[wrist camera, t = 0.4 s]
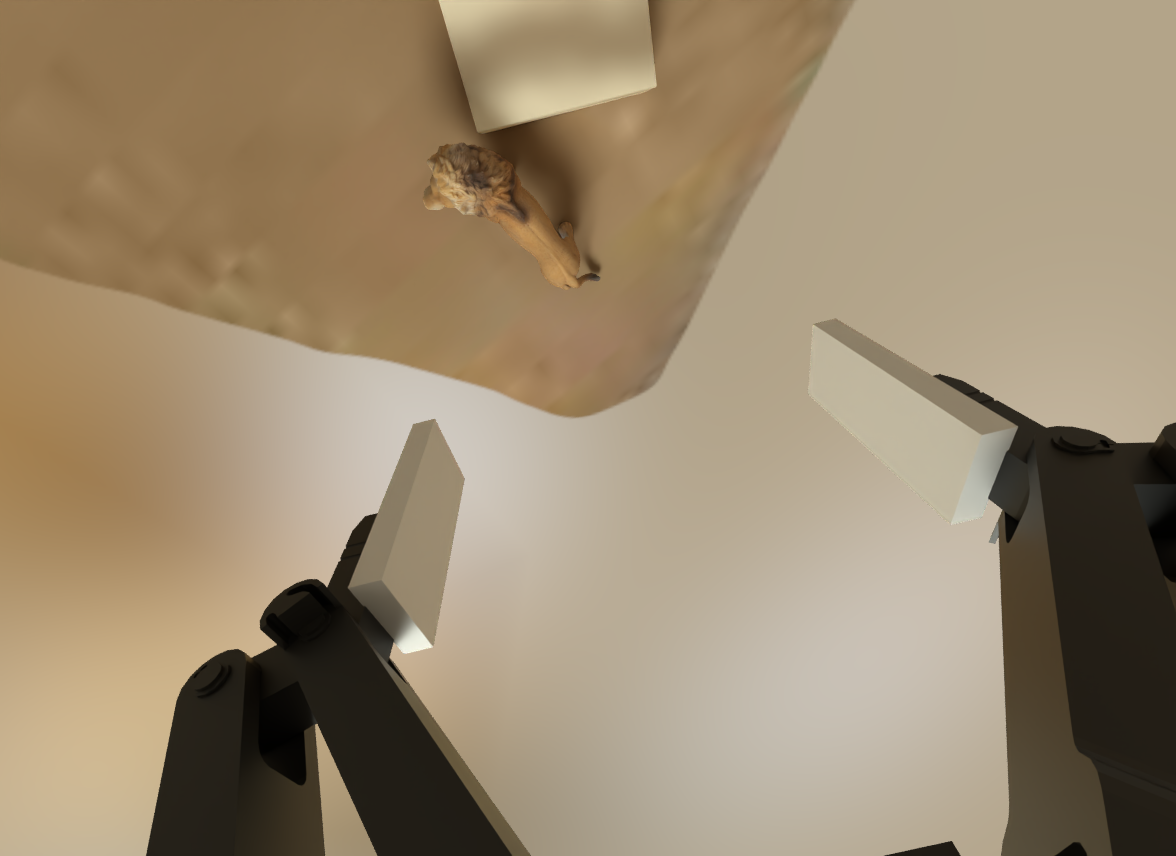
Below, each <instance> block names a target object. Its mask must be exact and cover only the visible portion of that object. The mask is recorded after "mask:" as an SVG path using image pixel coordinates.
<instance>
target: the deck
mask: <svg viewBox="0 0 1176 856" xmlns="http://www.w3.org/2000/svg"><path fill="white" fill-rule="evenodd" d="M439 3H440V6H441V10H442V13H443V16H444V20H445V23H446V27H447V30H448V33H449V37H450V40H451V44H452V47H453V51H454V54H455V57H456V61H457V64H458V68H459V71H460V74H461V78H462V81H463V85H464V88H465V92H466V95H467V98H468V102H469V105H470V109H471V112H472V115H473V119H474V122H475V126H476V129H477V133H481V134H485V133H488V132H492V131H496V130H500V129H504V128H508V127H512V126H516V125H520V124H523V123H527V122H531V121H535V120H539V119H543V118H547V117H551V116H555V115H558V114H562V113H566V112H570V111H574V110H578V109H582V108H586V107H589V106H593V105H597V104H601V103H605V102H609V101H613V100H617V99H621V98H624V97H628V96H632V95H636V94H640V93H644V92H646V91H648V90H650V89H652V88H654V87H657V86H656V76H655V66H654V56H653V46H652V36H651V26H650V17H649V7H648V0H439Z"/></svg>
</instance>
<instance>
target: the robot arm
mask: <svg viewBox="0 0 1176 856" xmlns="http://www.w3.org/2000/svg"><path fill="white" fill-rule="evenodd" d="M808 395H809V396H811V397H812V398H813V399H814V400H815V401H816V402H817V403H818V404H819V405H820V406H821V407H823V408H824V409H825V410H826V411H827V412H828V413H829V414H830V415H831V416H832V417H833V418H835V419H836V420H837V421H838V422H839V423H840V424H841V425H842V426H843V427H844V428H845V429H846V430H848V431H849V432H850V433H851V434H852V435H853V436H854V437H855V438H856V439H857V440H858V441H860V442H861V443H862V444H863V445H864V446H865V447H866V448H867V449H868V450H869V451H870V452H871V453H873V454H874V455H875V456H876V457H877V458H878V459H879V460H880V461H881V462H882V463H883V464H885V465H886V466H887V467H888V468H889V469H890V470H891V471H892V472H893V473H894V474H895V475H897V476H898V477H899V478H900V479H901V480H902V481H903V482H904V483H905V484H906V485H907V486H908V487H909V488H911V489H912V490H913V491H914V492H915V493H916V494H917V495H918V496H919V497H920V498H921V499H923V500H924V501H925V502H926V503H927V504H928V505H929V506H930V507H931V508H932V509H934V510H935V511H936V512H937V513H938V514H939V515H940V516H941V517H942V518H943V519H944V520H946V522H948V523H949V524H950V525H952V524H957V523H961V522H966V521H970V520H974V519H978V518H982V515H983V513H984V510H985V508H986V505H987V503H988V500H989V499H990V500H991V501H992V502H994V503H995V504H996V505H997V506H999V507H1000V508H1001V509H1002V512H1001V515H1000V517H999V520H998V522H997V524H996V527H995V529H994V531H993V533H992V536H991V538H990V541H989V542H990V543H994V544H995V543H996V540H997V538H998V537H999V554H1000V579H1001V605H1002V630H1003V656H1004V681H1005V705H1006V706H1005V707H1006V731H1007V758H1008V783H1009V818H1008V824H1007V828H1006V832H1005V836H1004V839H1003V845H1002V853H1001V856H1176V423H1173V424H1170V425H1167V426H1165V427H1164V429H1163V430H1162V432H1161V434H1160V435H1159V437H1158V438H1157V440H1156V441H1155V442H1154V443H1116V442H1114V441H1113V440H1111V439H1109V438H1108V437H1106V436H1104V435H1101V434H1098V433H1095V432H1093V431H1090V430H1086V429H1080V428H1076V427H1064V426H1063V427H1062V426H1055V427H1049V428H1046V427H1044V426H1042V425H1040V424H1038V423H1037V422H1035V421H1033V420H1031V419H1029V418H1028V417H1026V416H1024V415H1022V414H1021V413H1019V412H1017V411H1015V410H1013V409H1012V408H1010V407H1008V406H1006V405H1004V404H1003V403H1001V402H999V401H994V398H992V397H990V396H989V395H987V394H985V393H980V391H979V390H978V389H976V388H974V387H973V386H971V385H969V384H967V383H965V382H964V381H961V380H958V379H954V378H951V377H948V376H944V375H941V374H939V375H935V376H932V375H930V374H929V373H927V372H925V371H923V370H922V369H920V368H918V367H917V366H915V365H913V364H912V363H910V362H908V361H907V360H905V359H903V358H901V357H900V356H898V355H896V354H895V353H893V352H891V351H890V350H888V349H886V348H885V347H883V346H881V345H880V344H878V343H876V342H874V341H873V340H871V339H869V338H867V337H866V336H864V335H862V334H861V333H859V332H857V331H856V330H854V329H852V328H851V327H849V326H847V325H846V324H844V323H842V322H841V321H839V320H837V319H832V320H828V321H824V322H820V323H816V324H813V331H812V345H811V360H810V373H809V387H808ZM463 485H464V477H463V474H462V472H461V470H460V468H459V467H458V465H457V462H456V460H455V458H454V456H453V454H452V453H451V450H450V448H449V446H448V445H447V443H446V440H445V438H444V436H443V434H442V432H441V430H440V428H439V426H438V424H437V422H436V420H435V419H432V420H428V421H424V422H421V423H416V424H413V426H412V429H411V432H410V434H409V436H408V439H407V441H406V444H405V446H404V449H403V451H402V454H401V456H400V459H399V462H398V464H397V466H396V469H395V472H394V474H393V477H392V479H391V482H390V484H389V486H388V489H387V491H386V494H385V497H384V499H383V501H382V504H381V506H380V509H379V512H378V513H377V514H373V515H369V516H365V517H364V518H363V519H362V521H361V522H360V523H359V524H358V525H357V526H356V528H355V529H354V530H353V531H352V533H351V536H350V538H349V540H348V542H347V544H346V549H344V551H343V553H342V556H341V561H340V562H338V565H337V567H336V569H335V571H334V574H333V576H332V578H331V580H330V583H329V585H328V587H326V586H325V585H324V584H323V583H322V582H320V581H319V580H317V579H307V580H304V581H301V582H299V583H296V584H294V585H292V586H291V587H289V588H287V589H285V590H284V591H283V592H282V593H280V594H279V595H278V596H277V597H276V598H275V599H273V601H272V602H271V603H270V604H269V605H268V607H267V608H266V609H265V611H264V613H263V615H262V617H261V620H260V629H261V630H262V631H263V632H264V633H265V634H266V635H267V636H268V637H270V638H271V639H272V640H273V641H274V642H275V643H276V644H277V645H276V646H274V647H272V648H270V649H268V650H266V651H264V652H263V653H260V654H258V655H256V656H254V657H253V658H250V657H249V656H248V655H247V654H246V653H244V652H243V651H241V650H239V649H234V650H227V651H225V652H223V653H220V654H218V655H216V656H215V657H213V658H211V659H210V660H209V661H207V662H206V663H204V664H203V665H202V666H201V667H200V668H199V669H198V670H196V671H195V672H194V674H192V676H190V678H189V679H188V681H187V682H186V683H185V685H184V686H183V687H182V689H181V692H180V694H179V696H178V699H177V702H176V707H175V712H174V717H173V722H172V727H171V732H170V737H169V742H168V747H167V752H166V758H165V762H164V768H163V773H162V778H161V783H160V788H159V793H158V798H157V803H156V808H155V813H154V818H153V823H152V829H151V834H150V839H149V844H148V849H147V854H146V856H325V849H324V838H323V823H322V810H321V798H320V785H319V772H318V759H317V746H316V734H315V724H318V726H319V728H320V730H321V733H322V735H323V737H324V739H325V741H326V744H327V746H328V748H329V750H330V752H331V755H332V757H333V759H334V761H335V763H336V766H337V768H338V770H339V772H340V774H341V777H342V779H343V781H344V783H345V785H346V788H347V790H348V792H349V794H350V796H351V799H352V801H353V803H354V805H355V807H356V809H357V812H358V814H359V816H360V818H361V821H362V823H363V825H364V827H365V829H366V831H367V834H368V836H369V838H370V840H371V842H372V845H373V847H374V849H375V851H376V853H377V856H531V855H530V854H529V852H528V851H527V850H526V848H525V847H524V845H523V844H522V843H521V841H520V840H519V838H518V837H517V835H516V834H515V833H514V831H513V830H512V828H511V827H510V826H509V824H508V823H507V822H506V820H505V819H504V817H503V816H502V814H501V813H500V811H499V810H498V809H497V807H496V806H495V804H494V803H493V802H492V800H491V799H490V798H489V796H488V795H487V793H486V792H485V790H484V789H483V787H482V786H481V785H480V783H479V782H478V780H477V779H476V778H475V776H474V775H473V773H472V772H471V771H470V769H469V768H468V766H467V765H466V764H465V762H464V761H463V759H462V758H461V756H460V755H459V754H458V752H457V751H456V749H455V748H454V747H453V745H452V744H451V742H450V741H449V739H448V738H447V737H446V735H445V734H444V732H443V731H442V730H441V728H440V727H439V725H438V724H437V723H436V721H435V720H434V718H433V717H432V715H431V714H430V713H429V711H428V710H427V708H426V707H425V706H424V704H423V703H422V701H421V700H420V699H419V697H418V696H417V694H416V693H415V692H414V690H413V689H412V687H411V686H410V684H409V683H408V682H407V680H406V679H405V678H404V676H403V675H402V673H401V672H400V670H399V669H398V667H397V666H396V665H395V663H394V662H393V661H392V660H391V659H390V658H389V656H390V653H391V649H392V646H393V642H394V643H395V644H396V645H397V646H398V648H399V649H400V650H401V651H402V652H403V653H404V654H406V653H410V652H415V651H419V650H423V649H427V648H431V647H433V644H434V640H435V635H436V629H437V623H438V619H439V613H440V608H441V602H442V597H443V591H444V586H445V581H446V576H447V570H448V565H449V560H450V554H451V549H452V543H453V538H454V532H455V527H456V521H457V516H458V511H459V505H460V500H461V495H462V490H463ZM885 856H960V854H959V852H958V851H957V849H956V847H955V846H954V844H953V842H952V841H950V842H945V843H941V844H936V845H931V846H927V847H922V848H917V849H913V850H908V851H904V852H899V853H895V854H890V855H885Z"/></svg>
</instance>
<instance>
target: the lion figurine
mask: <svg viewBox="0 0 1176 856" xmlns="http://www.w3.org/2000/svg"><path fill="white" fill-rule="evenodd" d="M427 164H428V165H429V166H430V168H431V170H432V171H433V175H432V177H431V181H430V186H428V187H427V188H426V189H425V191H424V197H423V202H424V205H425V207H426V208H427V209H429V210H434V209H435V210H440V209H442V208H444V207H445V206H446V207H449V208H456V209H458V210H459V211H460V212H461V213H462V214H464V215H465V214H466V215H470V214H471V215H477V216H478V217H486V218H487V219H489V220H490V221H493V222H495V223H499V224H500V225H501V226H502V228H503V229H504V230H505V231H506V232H507V234H508V235H509V236H510V237H511V238H512V239H513V240H515V241H516V242H517V243H518V244H519V245H521V246H522V247H523V248H524V249H526V250H527V251H529V252H530V253H531V254H533V255H534V256H535V257H536V259H537V260H538V262H539V265H540V267H541V272H542V274H543V275H544V277H545V278H546V279H547V281H548V282H549V283H551V284H552V285H554V286H556V287H562V289H564V290H568V289H570V287H573V288H579V287H580V286H581V285H582V284H583V283H584V282H585V281H588V280H590V281H599V280H600V277H599V276H597V275H596V274H593V273H589V274H585V275H583V276H581V277H580V278H578V279H577V278H576V274H577V273H578V271H579V267H580V254H579V251H578V249H577V246H576V244H575V241H574V237H573V228H572V225H571V224H570V223H569V222H563V223H562V224H561V225H560V226H559V228H558V230H559V233H560V235H561V236H562V238H563V239H561V238H560V236H559V235H558V234H557V232H556V231H555V229H554V227H553V225H552V223H551V221H550V220H549V218H548V216H547V215H546V214H545V212H544V210H543V209H542V207H541V206H540V204H539V203H538V202H537V201H536V199H535V198H534V197H533V196H532V195H531V194H530V193H529V192H528V191H527V190H525V189H524V188H523V187H522V186H521V182H520V179H519V177H518V176H517V175H516V172H515V170H514V167H513V165H512V164H511V163H509V162H508V161H507V160H506V159H504V158H502V157H501V156H500V155H499V154H496V153H495V152H494V151H490V150H487V149H486V148H481V147H477V146H476V145H469V146H468V145H466V144H464V143H459V144H454V145H448V144H446V145H445V146H439V149H438V152H437V153H436V154H434V155H433V156H431V157H430V159H428V160H427Z"/></svg>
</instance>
